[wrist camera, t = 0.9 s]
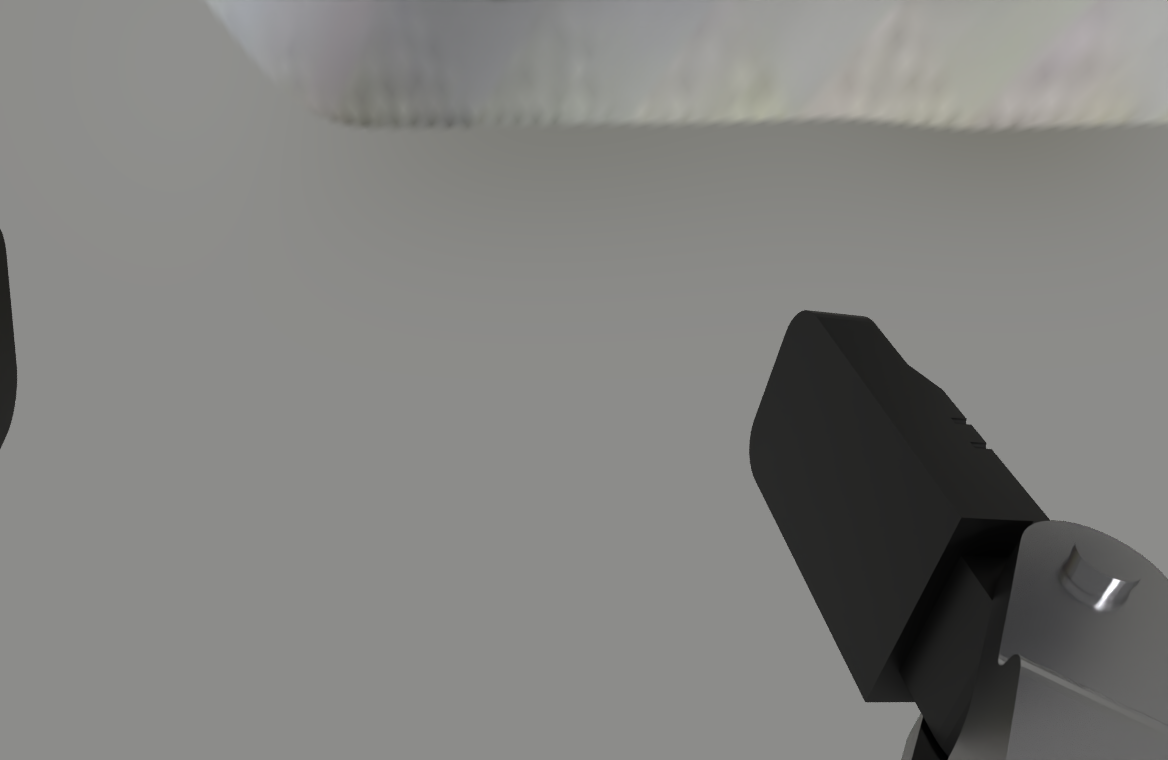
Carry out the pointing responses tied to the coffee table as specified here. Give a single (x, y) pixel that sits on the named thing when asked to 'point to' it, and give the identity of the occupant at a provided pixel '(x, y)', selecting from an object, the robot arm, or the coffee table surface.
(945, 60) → the coffee table surface
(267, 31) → the coffee table surface
